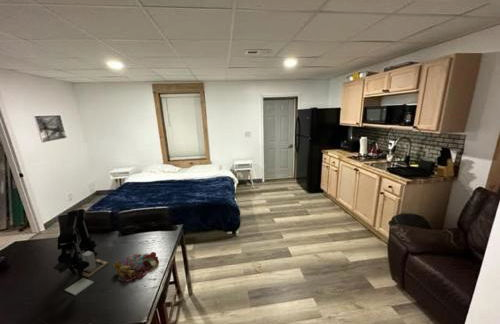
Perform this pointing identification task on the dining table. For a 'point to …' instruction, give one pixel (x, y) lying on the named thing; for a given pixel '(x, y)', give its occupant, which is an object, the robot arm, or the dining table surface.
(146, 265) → the candy landscape model
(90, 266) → the skincare box
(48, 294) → the dining table surface
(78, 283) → the ceramic coaster
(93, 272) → the frame
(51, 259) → the dining table surface
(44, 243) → the dining table surface
